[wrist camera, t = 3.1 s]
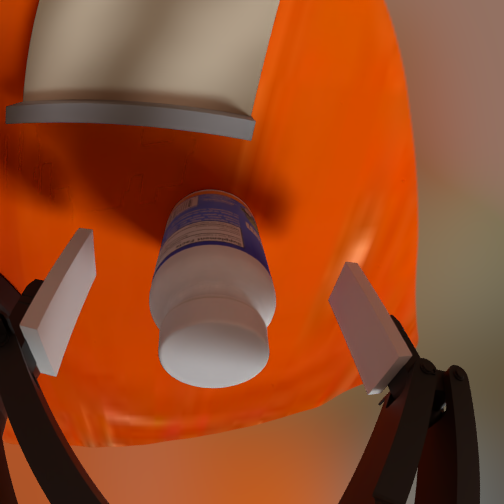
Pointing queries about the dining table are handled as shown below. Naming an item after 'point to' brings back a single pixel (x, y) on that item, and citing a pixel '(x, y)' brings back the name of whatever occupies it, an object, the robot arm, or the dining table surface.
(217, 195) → the pill bottle
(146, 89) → the dock
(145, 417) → the dining table surface
